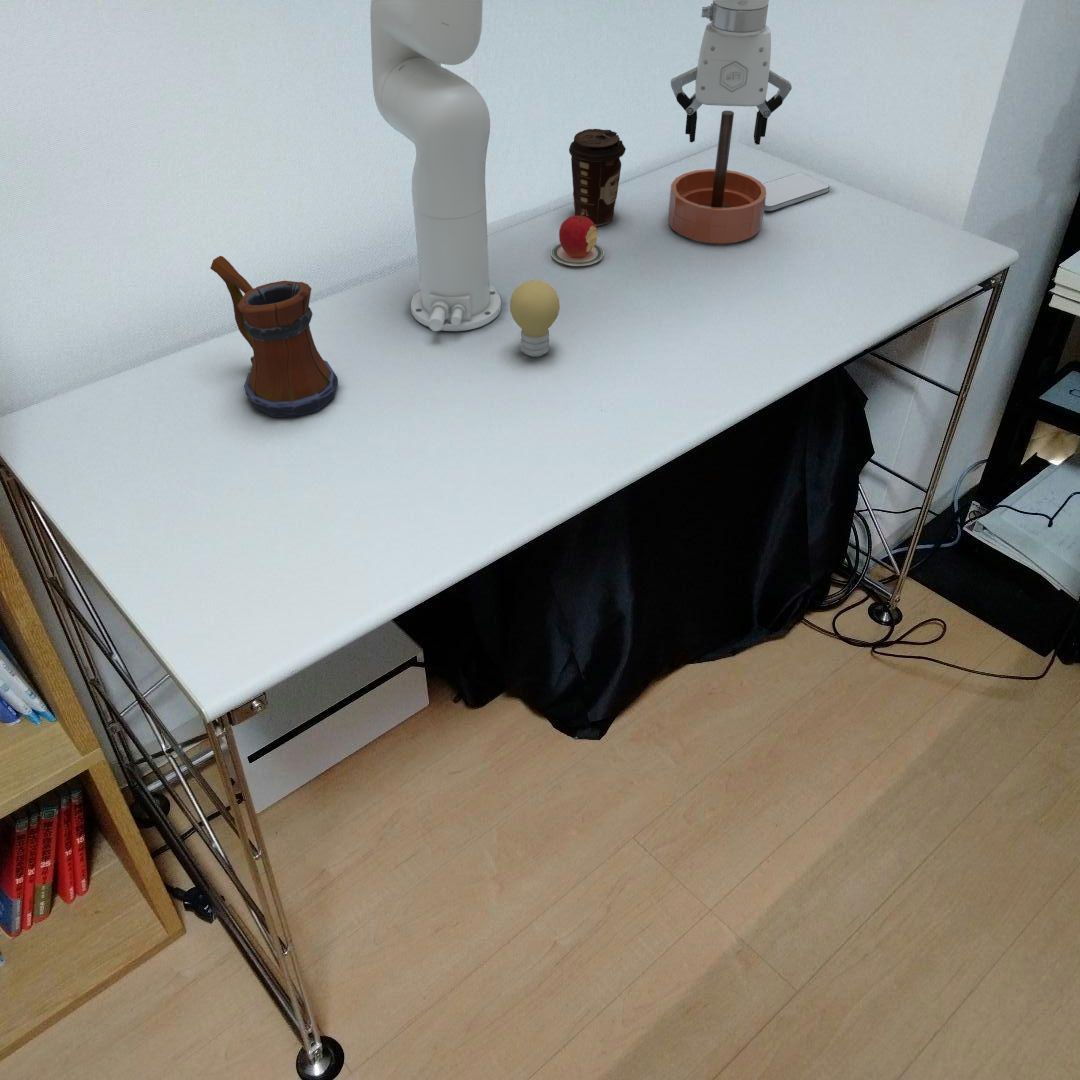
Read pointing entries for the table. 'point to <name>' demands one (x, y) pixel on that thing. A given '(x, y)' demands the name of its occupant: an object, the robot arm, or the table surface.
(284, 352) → the mug
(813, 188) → the smartphone
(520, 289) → the light bulb
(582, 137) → the coffee cup
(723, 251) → the table surface
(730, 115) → the dowel on round base
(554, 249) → the red apple in dish
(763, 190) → the bowl
